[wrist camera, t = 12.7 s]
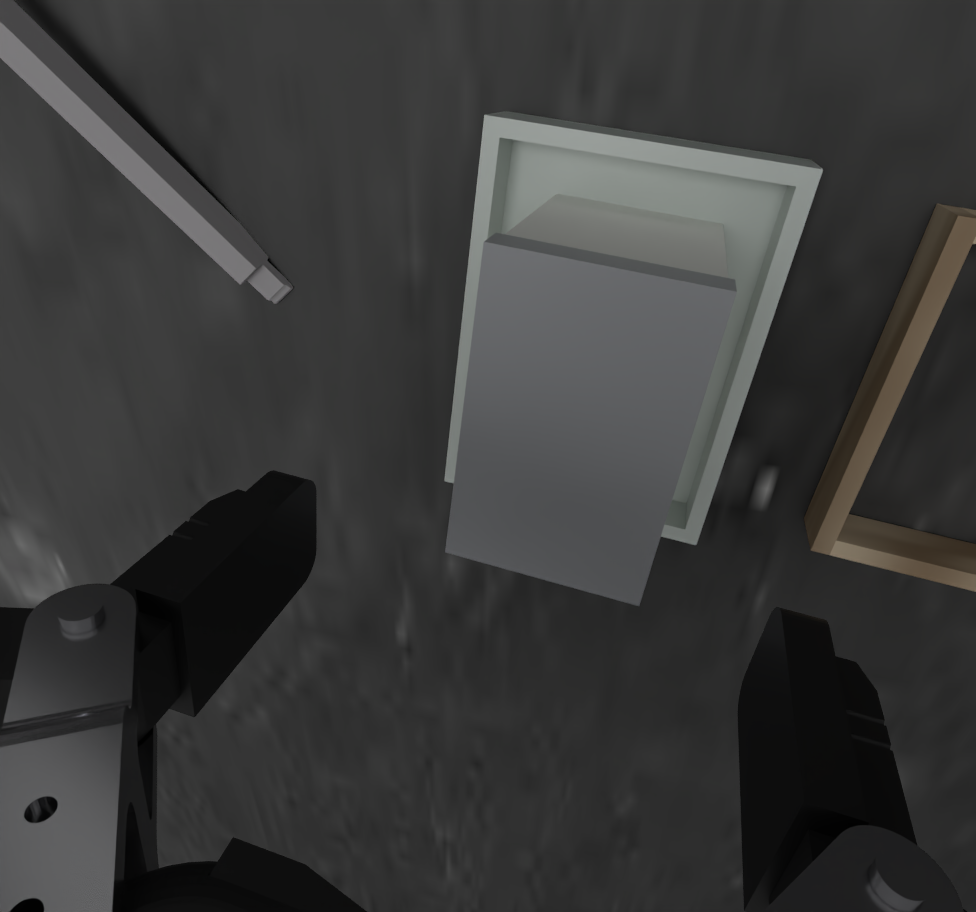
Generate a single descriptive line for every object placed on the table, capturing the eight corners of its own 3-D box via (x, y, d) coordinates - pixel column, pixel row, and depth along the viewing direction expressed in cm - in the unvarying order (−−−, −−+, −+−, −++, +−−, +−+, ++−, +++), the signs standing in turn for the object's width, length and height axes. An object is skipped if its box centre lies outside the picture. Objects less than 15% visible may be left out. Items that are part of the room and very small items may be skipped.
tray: (811, 159, 20) (823, 169, 18) (697, 507, 26) (696, 545, 24) (506, 111, 22) (484, 114, 20) (464, 449, 28) (444, 481, 26)
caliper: (-152, -204, 23) (-414, -289, 18) (-142, -236, 22) (-408, -333, 17) (282, 301, 27) (178, 356, 22) (299, 284, 27) (197, 336, 21)
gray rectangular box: (727, 221, 21) (736, 291, 14) (657, 460, 25) (639, 606, 18) (554, 189, 22) (484, 241, 15) (514, 426, 26) (445, 552, 19)
